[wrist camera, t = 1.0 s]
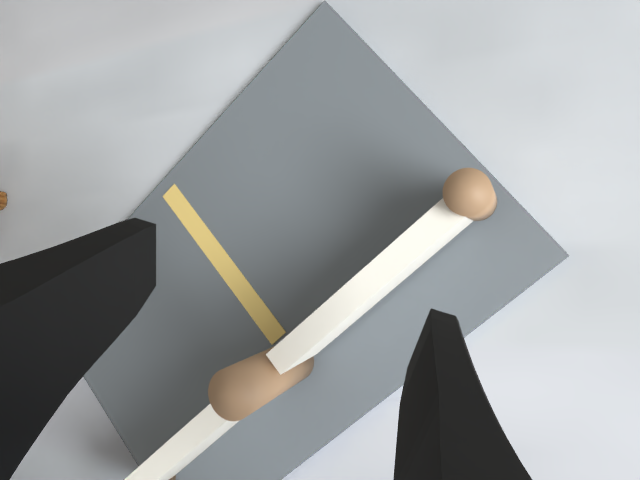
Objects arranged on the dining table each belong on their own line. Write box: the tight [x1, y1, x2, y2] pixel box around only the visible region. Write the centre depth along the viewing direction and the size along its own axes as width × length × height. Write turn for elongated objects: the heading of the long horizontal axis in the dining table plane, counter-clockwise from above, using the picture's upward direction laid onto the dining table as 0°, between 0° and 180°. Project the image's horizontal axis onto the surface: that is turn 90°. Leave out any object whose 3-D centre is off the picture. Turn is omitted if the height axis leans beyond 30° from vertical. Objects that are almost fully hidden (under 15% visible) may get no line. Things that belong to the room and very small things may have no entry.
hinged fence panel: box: [266, 168, 497, 375], centre depth 20 cm, size 11×2×5 cm, turn 131°
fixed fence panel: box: [124, 346, 314, 480], centre depth 23 cm, size 12×2×6 cm, turn 131°
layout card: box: [83, 1, 569, 480], centre depth 26 cm, size 16×24×1 cm, turn 131°
